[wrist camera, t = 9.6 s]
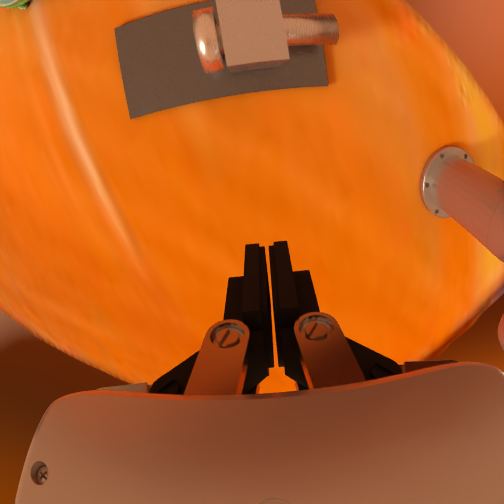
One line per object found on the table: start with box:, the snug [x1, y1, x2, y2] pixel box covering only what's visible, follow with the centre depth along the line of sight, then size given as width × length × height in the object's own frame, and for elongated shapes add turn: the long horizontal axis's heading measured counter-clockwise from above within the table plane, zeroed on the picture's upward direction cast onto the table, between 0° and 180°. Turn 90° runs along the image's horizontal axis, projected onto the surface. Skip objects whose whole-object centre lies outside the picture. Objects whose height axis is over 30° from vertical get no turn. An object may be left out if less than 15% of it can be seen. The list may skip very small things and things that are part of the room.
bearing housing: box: [115, 0, 328, 119], centre depth 25 cm, size 26×14×10 cm, turn 98°
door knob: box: [192, 6, 339, 74], centre depth 24 cm, size 14×8×8 cm, turn 98°
